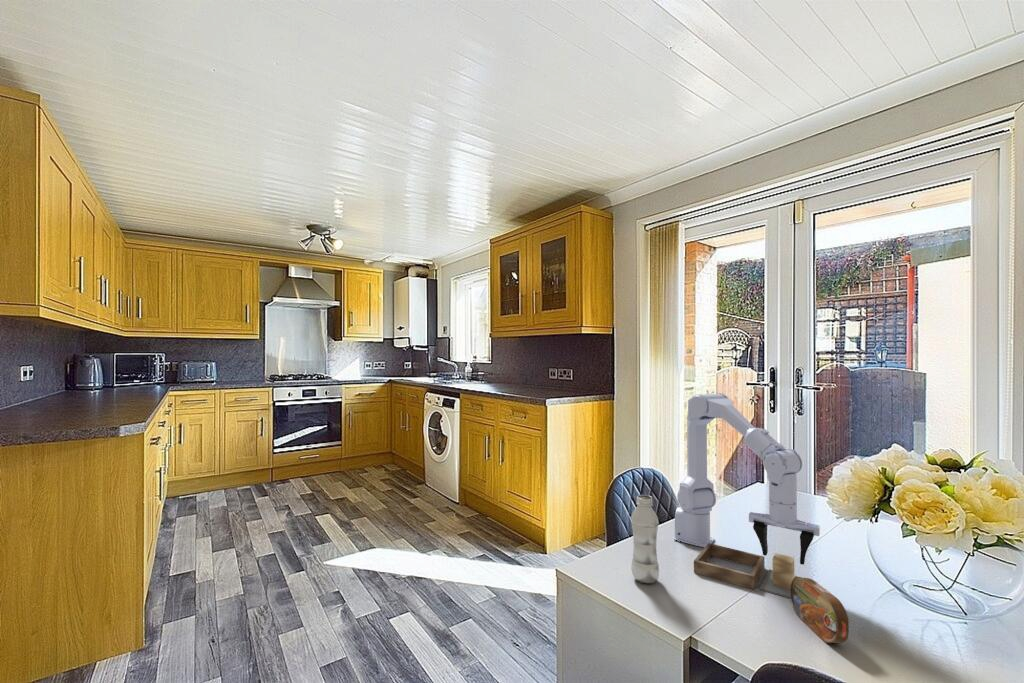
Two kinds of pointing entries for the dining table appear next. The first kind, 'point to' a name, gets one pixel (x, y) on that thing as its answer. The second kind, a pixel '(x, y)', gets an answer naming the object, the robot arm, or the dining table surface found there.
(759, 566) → the frame box
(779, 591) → the mat
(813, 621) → the tin
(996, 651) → the dining table surface
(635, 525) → the plastic bottle
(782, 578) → the oak block
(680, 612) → the dining table surface
